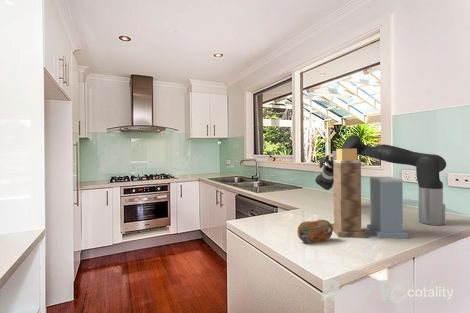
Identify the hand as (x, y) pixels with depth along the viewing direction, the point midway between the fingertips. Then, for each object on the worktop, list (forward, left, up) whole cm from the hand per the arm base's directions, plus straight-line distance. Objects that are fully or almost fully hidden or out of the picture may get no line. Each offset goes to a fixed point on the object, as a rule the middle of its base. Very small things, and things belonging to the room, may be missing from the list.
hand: (337, 156), depth 119 cm
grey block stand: (-16, +14, -33) cm, 39 cm away
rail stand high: (0, +14, -33) cm, 36 cm away
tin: (+16, +25, -33) cm, 45 cm away
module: (0, +9, -1) cm, 9 cm away
